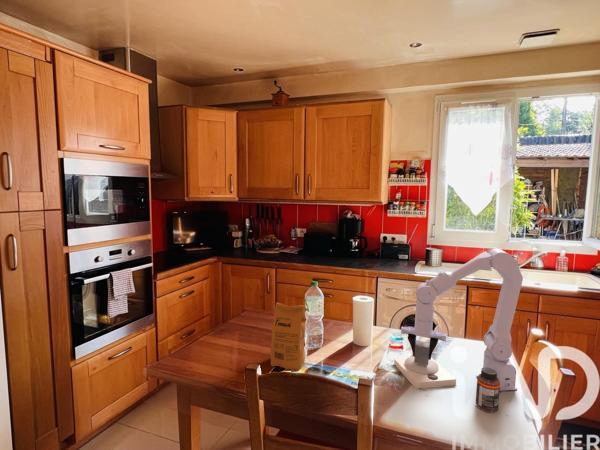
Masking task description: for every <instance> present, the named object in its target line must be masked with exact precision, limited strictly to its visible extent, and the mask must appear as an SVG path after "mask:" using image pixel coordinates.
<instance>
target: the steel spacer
mask: <svg viewBox="0 0 600 450" xmlns="http://www.w3.org/2000/svg"><path fill="white" fill-rule="evenodd" d="M429 349H430V341H429V342H427V341H423V340H416V344H415V356H413V357H414V362H416V363H421V364H425V365H428V363H429Z"/></svg>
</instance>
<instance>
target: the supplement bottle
mask: <svg viewBox="0 0 600 450" xmlns="http://www.w3.org/2000/svg"><path fill="white" fill-rule="evenodd" d="M477 375H478V377H477V376H476V377H477V378H476V392H475V393H476V394H475V405H476V407H477V408H478V409H480V410H482V411H484V412H488V413H496V412H497V411H498V410H499V407H500V406H499V403H500V393H501V391H500V380H499V379H498V378H497V371H496V370H494V369H492V368H489V367H483V366H482V368H481V370H480V373H479V374H477Z"/></svg>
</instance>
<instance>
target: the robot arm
mask: <svg viewBox="0 0 600 450" xmlns="http://www.w3.org/2000/svg"><path fill="white" fill-rule="evenodd" d="M492 269H494V271H496V272H497V273H498V274H499V276H500V277H501V278H502V283H501V286H500V287H501V288H500V292H499V296H498V300H497V304H496V309H495V312H494V316H493V322H492V324H491V325H490V326H489V327H488V330H487V332H486V333H485V334H484V336H483V343H484V346H486V348H485V350H484V353H483V365H482V368H483V367H489V368H492V369H494V370H496V371H497V378H498V379H499V380H500V392H504V391H513V390H514V391H515V390H518V387H517V386H516V381H517V380H516V379H517V370H516V367H515V366H514V365H513V364H512V363H511V361H510V358H511V357H512V355H513V349H512V341H513V340H512V335H511V329H512V325H513V321H514V317H515V312H516V310H517V304H518V301H519V295H520V291H521V288H522V285H523V281H524V279H523V278H524V277H523V275H522V274H523V273H522V272H521V270H520V266H519V265H518V261H517V260H516V258H514V257H513V256H512V255H511V254H510V253H508V252H506V251H504V250H503V249H501V248H500V247H499V248H498V247H492V248H489V249H488V250H487V251H483V252H481V253H479V254H478V255H477V256H475V257H473V258H472V259H470V260H468V261H467V262H465V263H464V264H462V265H461V266H459V267H457V268H455V269H454V270H453V271H451V272H450V271H444V272H442V271H440V272H438V273H437V275H436V276H435V277H433V278H431V279H426V280H425V282H421V283H420V284H418V285H417V287H416V289H415V294H416V300H415V301H416V304H415V312H414V313H415V315H414V316H415V317H414V327H413V326H412V327H409V326H408V327H407V326H401V328H400V334H401V335H407V340H408V343H409V345H410V347H411V351H412V357H414V356H415V344H416V341H417V337H421V338H427V339H429V343H430V349H429V360H431V357H432V355H433V353H434V350H435V348H436V347H437V346H438V343H439V341H441V342H446V341H447V333H443V332H439V331H436V330H433V324H434V302H435V301H436V298H437V297H438V296H440V295H443V294H444V293H446V292H448V291H450V290H451V289H454V288H455V287H456V285H457V282H458V281H460V280H462V279H464V278H467V277H468V276H470V275H472V274H474V273H476V272H478V271H489V272H491V271H493V270H492ZM478 375H479V374H476V377H478Z"/></svg>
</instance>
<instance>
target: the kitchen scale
mask: <svg viewBox="0 0 600 450" xmlns="http://www.w3.org/2000/svg"><path fill="white" fill-rule="evenodd" d="M393 364H394V366H395V365H396V366H395V367H396V368H397V369H398V371H400V372H401V374H402V375H403V376H404V377H405V378H406V380H408V381H409V383H410V384H411V385H412V387H414V389H416V390H417V389H425V388H438V387H449V386H450V387H451V386H456V385H457V378H456V377H455V376H453V375H452V374H451V373H450V372H449V371H448V370H447V369H446V368H444V366H442V365H441V364H440V363H439V362H437V361H436V360H435V359H434V357H432V356H431V360H429V363H428V365H425V364H421V363H416V362H414V356H410V357H400V358H399V357H397V358H394V363H393Z"/></svg>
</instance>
